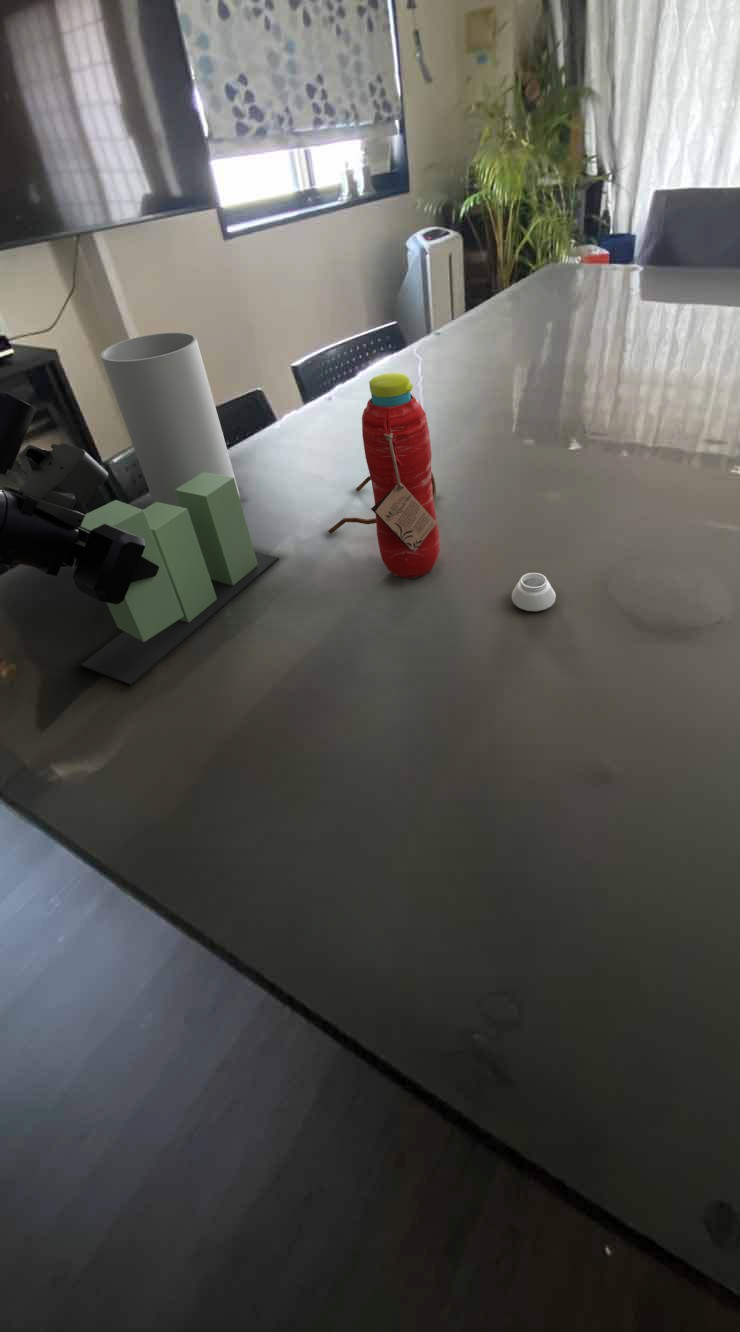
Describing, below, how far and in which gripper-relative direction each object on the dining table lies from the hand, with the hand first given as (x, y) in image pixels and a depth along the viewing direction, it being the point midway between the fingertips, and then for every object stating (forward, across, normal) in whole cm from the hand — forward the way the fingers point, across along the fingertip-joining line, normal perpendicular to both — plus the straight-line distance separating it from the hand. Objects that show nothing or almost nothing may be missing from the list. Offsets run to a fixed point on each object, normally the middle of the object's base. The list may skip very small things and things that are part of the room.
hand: (141, 564), depth 70 cm
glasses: (+34, -1, -17) cm, 38 cm away
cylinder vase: (+26, +26, -8) cm, 38 cm away
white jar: (+29, -30, -11) cm, 43 cm away
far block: (+19, +7, -2) cm, 20 cm away
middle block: (+13, +6, +4) cm, 15 cm away
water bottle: (+27, -14, -10) cm, 32 cm away
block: (+4, 0, +6) cm, 7 cm away
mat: (+13, +6, +4) cm, 15 cm away
